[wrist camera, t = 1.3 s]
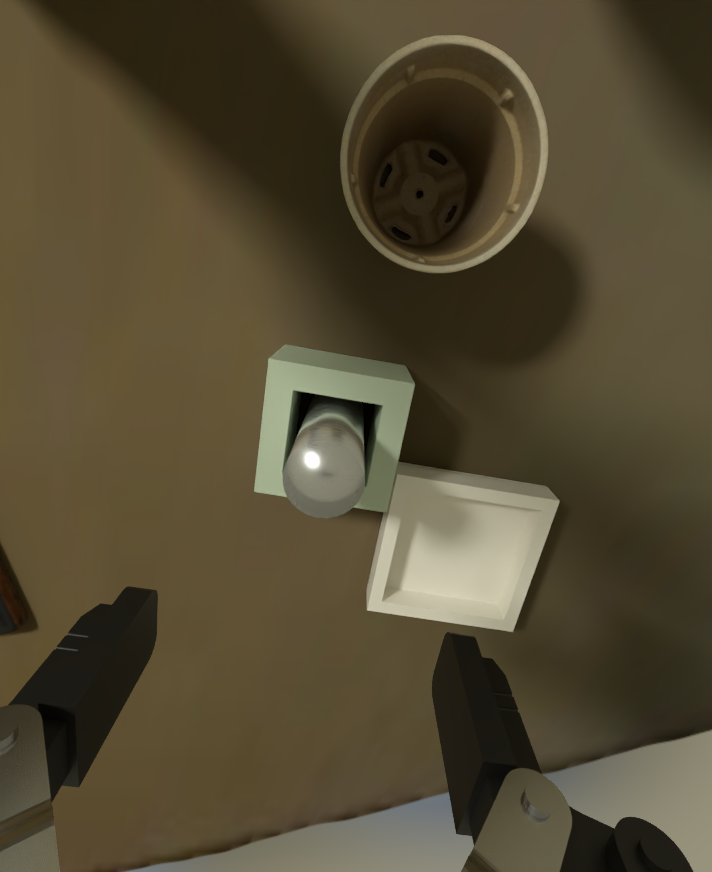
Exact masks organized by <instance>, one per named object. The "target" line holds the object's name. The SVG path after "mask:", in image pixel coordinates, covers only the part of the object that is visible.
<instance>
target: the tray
mask: <svg viewBox="0 0 712 872" xmlns="http://www.w3.org/2000/svg"><path fill="white" fill-rule="evenodd" d="M559 502H560V500H559V499H558V498H557V497H556V496H555V495H554V494H553V493H552V492H551V490H550V489H549V488H548V487H547V486H543V485H537V484H531V483H525V482H519V481H513V480H507V479H501V478H495V477H489V476H483V475H477V474H471V473H465V472H459V471H453V470H447V469H441V468H434V467H428V466H422V465H416V464H410V463H404V462H398V464H397V469H396V473H395V478H394V482H393V487H392V491H391V496H390V500H389V505H388V509H387V513H385V512H383V517H382V521H381V526H380V531H379V535H378V540H377V544H376V549H375V554H374V558H373V563H372V567H371V572H370V576H369V581H368V586H367V610H369V611H375V612H382V613H389V614H396V615H402V616H409V617H416V618H423V619H429V620H436V621H443V622H449V623H456V624H463V625H470V626H476V627H483V628H490V629H497V630H503V631H510V632H513V630H514V627H515V625H516V622H517V619H518V616H519V613H520V611H521V608H522V605H523V602H524V600H525V597H526V594H527V591H528V588H529V586H530V583H531V580H532V577H533V574H534V572H535V569H536V566H537V563H538V561H539V558H540V555H541V552H542V549H543V547H544V544H545V541H546V538H547V536H548V533H549V530H550V527H551V524H552V522H553V519H554V516H555V513H556V510H557V508H558V505H559Z"/></svg>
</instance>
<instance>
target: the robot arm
mask: <svg viewBox="0 0 712 872" xmlns="http://www.w3.org/2000/svg"><path fill="white" fill-rule="evenodd" d="M157 603H158V594H157V591H156V590H151V589H144V588H136V587H129V586H128V587H126V588H125V589H124V590H123V591H122V592H121V594H120V595H119V596H118V598H117V599H116V600H115V602H114V603H113V604H112V605H108V604H99V605H98V606H96V607H95V608H93V609H92V610H90V611H89V612H87V613H86V614H84V615H83V616H81V617H80V619H79V620H78V621H77V622H76V624H75V625H74V626H73V627H72V628H71V630H70V631H69V632H68V635H67V636H65V637H64V638H63V639H62V641H61V642H60V643H59V644H58V645H57V648H56V650H53V652H52V653H51V654H50V655H49V656H48V658H47V659H46V660H45V661H44V663H43V664H42V665H41V666H40V667H39V669H38V670H37V671H36V672H35V673H34V675H33V676H32V677H31V678H30V680H29V681H28V682H27V683H26V684H25V686H24V687H23V688H22V689H21V691H20V692H19V693H18V694H17V695H16V697H15V698H14V699H13V700H12V701H11V703H10V704H9V705H8V706H4V707H1V708H0V872H60V870H59V861H58V852H57V843H56V834H55V825H54V816H53V808H52V804H51V803H52V801H53V799H54V798H55V796H56V794H57V793H58V791H59V789H60V787H61V786H62V785H64V786H72V787H79V786H80V785H81V783H82V781H83V779H84V777H85V776H86V774H87V772H88V770H89V768H90V766H91V765H92V763H93V761H94V759H95V757H96V756H97V754H98V752H99V750H100V748H101V746H102V745H103V743H104V741H105V739H106V737H107V736H108V734H109V732H110V730H111V728H112V726H113V725H114V723H115V721H116V719H117V717H118V716H119V714H120V712H121V710H122V708H123V706H124V705H125V703H126V701H127V699H128V697H129V696H130V694H131V692H132V690H133V688H134V686H135V685H136V683H137V681H138V679H139V677H140V676H141V674H142V672H143V670H144V668H145V666H146V665H147V663H148V661H149V659H150V657H151V655H152V652H153V649H154V646H155V642H156V636H157ZM432 697H433V703H434V709H435V715H436V720H437V726H438V732H439V737H440V743H441V749H442V755H443V760H444V766H445V772H446V777H447V783H448V789H449V795H450V800H451V806H452V812H453V817H454V823H455V829H456V834H461V835H469V836H472V838H473V843H474V848H473V850H472V852H471V854H470V855H469V857H468V859H467V861H466V863H465V865H464V867H463V869H462V871H461V872H693V870H692V868H691V866H690V864H689V863H688V861H687V859H686V858H685V856H684V855H683V853H682V852H681V850H680V849H679V848H678V847H677V845H676V844H675V843H674V842H673V841H672V840H671V839H670V838H669V837H668V836H667V835H666V834H665V833H664V832H662V831H661V830H660V829H659V828H657V827H656V826H654V825H652V824H651V823H649V822H647V821H645V820H643V819H640V818H636V817H626V818H623V819H621V820H620V821H619V822H618V823H617V825H616V827H615V829H614V828H612V827H610V826H608V825H605V824H603V823H601V822H599V821H597V820H595V819H593V818H590V817H588V816H586V815H584V814H582V813H580V812H578V811H576V810H574V809H573V808H571V807H570V806H569V805H568V803H567V801H566V799H565V797H564V796H563V794H562V793H561V791H560V790H559V789H558V788H557V786H556V785H555V784H554V783H552V781H550V780H549V779H548V778H547V777H545V776H544V775H542V773H541V770H540V768H539V765H538V762H537V760H536V757H535V754H534V751H533V749H532V746H531V743H530V741H529V738H528V735H527V732H526V730H525V727H524V724H523V722H522V719H521V716H520V713H518V708H517V705H516V703H515V700H514V697H512V692H511V689H510V686H509V684H508V681H507V678H506V675H505V674H504V673H503V672H502V670H501V669H500V668H499V667H498V665H497V664H496V663H495V661H494V660H493V659H491V658H483V657H482V656H481V653H480V650H479V647H478V644H477V641H476V638H475V637H474V636H471V635H464V634H457V633H450V632H447V633H446V634H445V636H444V639H443V643H442V646H441V650H440V653H439V657H438V660H437V663H436V667H435V670H434V674H433V681H432Z"/></svg>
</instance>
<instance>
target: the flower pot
mask: <svg viewBox="0 0 712 872" xmlns="http://www.w3.org/2000/svg"><path fill="white" fill-rule="evenodd" d="M547 134H548V133H547V125H546V119H545V116H544V112H543V109H542V105H541V102H540V100H539V97H538V95H537V93H536V91H535V89H534V87H533V85H532V83H531V81H530V80H529V78H528V76H527V75H526V74H525V72H524V71H523V70H522V69H521V68H520V66H519V65H517V63H516V62H515V61H514V60H513V59H512V58H511V57H509V56H508V55H507V54H506V53H504V52H503V51H501V50H500V49H498V48H497V47H495V46H493V45H491V44H489V43H486V42H484V41H482V40H479V39H475V38H472V37H468V36H460V35H455V36H448V35H443V36H433V37H427V38H424V39H421V40H418V41H416V42H413V43H411V44H409V45H407V46H405V47H403V48H401V49H399V50H398V51H397V52H395V53H394V54H392V55H391V56H390V57H389V58H387V59H386V60H385V61H384V62H382V63H381V64H380V65H379V66H378V67H377V68H376V70H375V71H374V72H373V73H372V74H371V76H370V77H369V78H368V80H367V81H366V83H365V84H364V85H363V87H362V88H361V90H360V92H359V94H358V96H357V97H356V99H355V101H354V103H353V105H352V108H351V110H350V112H349V115H348V118H347V121H346V124H345V128H344V132H343V136H342V143H341V151H340V173H341V181H342V187H343V193H344V196H345V200H346V203H347V206H348V208H349V211H350V213H351V215H352V217H353V219H354V221H355V223H356V225H357V227H358V229H359V230H360V231H361V233H362V234H363V235H364V237H365V238H366V239H367V240H368V241H369V242H370V244H371V245H372V246H373V247H374V248H375V249H377V250H378V251H379V252H380V253H381V254H383V255H384V256H385V257H387V258H388V259H390V260H391V261H393V262H395V263H397V264H399V265H401V266H404V267H406V268H409V269H412V270H416V271H420V272H426V273H450V272H457V271H461V270H465V269H468V268H471V267H473V266H476V265H478V264H480V263H482V262H484V261H486V260H488V259H490V258H491V257H493V256H494V255H495V254H497V253H498V252H499V251H501V250H502V249H503V248H504V247H505V246H506V245H507V244H509V243H510V241H512V240H513V238H514V237H515V236H516V235H517V234H518V233H519V231H520V230H521V229H522V228H523V226H524V225H525V224H526V222H527V220H528V218H529V217H530V215H531V213H532V212H533V209H534V207H535V204H536V203H537V200H538V197H539V195H540V193H541V190H542V186H543V183H544V180H545V175H546V169H547V164H548V162H547V160H548V137H547ZM430 150H437V151H438V152H439V153H440V154H441V155H442V156H444V157H445V158H446V160H447V162H446V163H445V165H442V164H440V163H439V162H437V161H435V160H434V159H432V158H431V157H430V158H429V156H428V155H429V152H430ZM388 164H389V165H391V166H392V171H391V173H390V175H389V176H388V178H387V180H386V183H385V185H384V186H383V187H382V186H380V184H381V177H382V175H383V172H384V169H385V167H386V166H387V165H388ZM418 191H422V192H423V197H421V198H417V196H416V193H417V192H418ZM453 206H457V208H456V211H455V213H454V215H453V217H452V219H451V220H450V221H449V222H445V220H446V219H447V217H448V212H450V211H451V209H452V207H453ZM393 227H396V228H397V229H399V230H401V231H403V232H405V233H407V234H409V235H410V238H409V240H402V239H400V238H399V237H396V236H395V235H394V234H393V232H392V228H393Z"/></svg>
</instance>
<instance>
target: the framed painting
mask: <svg viewBox="0 0 712 872" xmlns="http://www.w3.org/2000/svg"><path fill="white" fill-rule="evenodd" d="M26 618H27V614H26V611H25V609H24V607H23V605H22V603H21V601H20V599H19V597H18V595H17V592H16V590H15V588H14V586H13V584H12V581H11V579H10V577H9V575H8V573H7V571H6V569H5V567H4V564H3V562H2V560H1V558H0V634H4V633H9V632H13V631H16V630H18V629H19V628H21V627H22V625H23V624H24V622H25V620H26Z"/></svg>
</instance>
